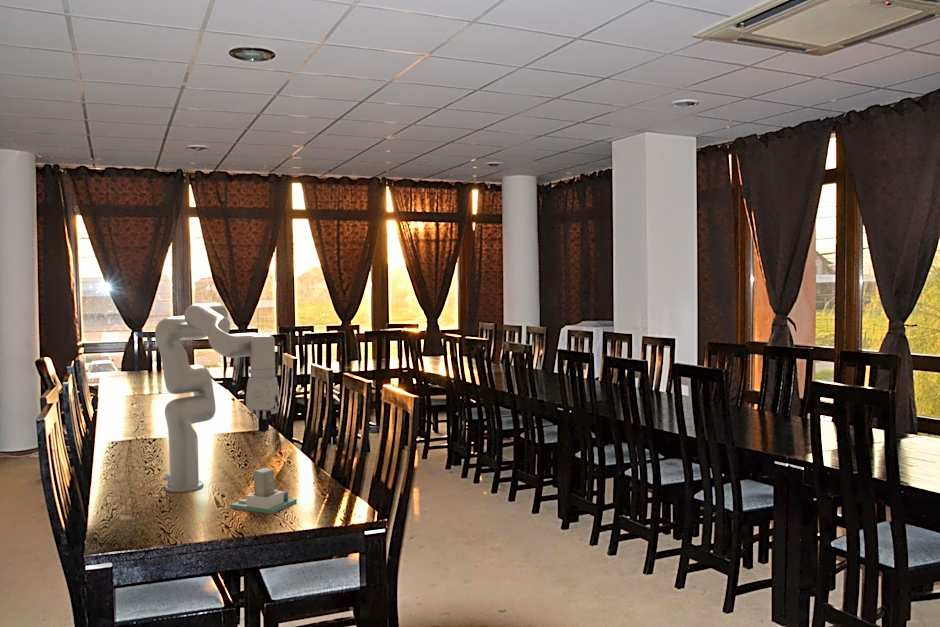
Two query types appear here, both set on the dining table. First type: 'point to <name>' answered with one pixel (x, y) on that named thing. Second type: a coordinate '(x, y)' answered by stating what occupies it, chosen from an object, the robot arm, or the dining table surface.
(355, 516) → the dining table surface
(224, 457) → the dining table surface
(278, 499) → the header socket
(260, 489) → the box
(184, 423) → the robot arm
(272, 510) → the board
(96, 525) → the dining table surface
